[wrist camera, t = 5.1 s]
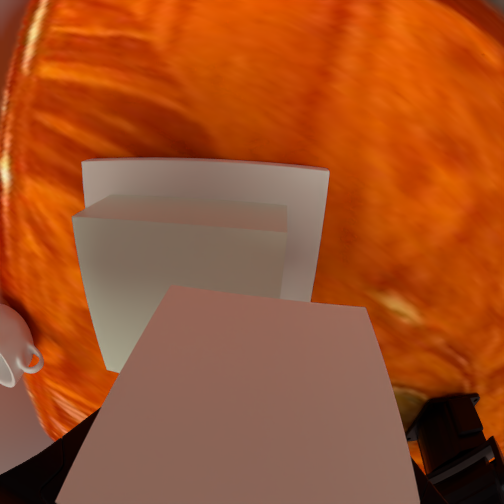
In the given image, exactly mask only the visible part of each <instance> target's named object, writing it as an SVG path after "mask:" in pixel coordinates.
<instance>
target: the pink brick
mask: <svg viewBox="0 0 504 504" xmlns="http://www.w3.org/2000/svg"><path fill="white" fill-rule="evenodd" d="M55 502H56V503H57V504H420V500H419V494H418V489H417V484H416V480H415V475H414V470H413V466H412V461H411V457H410V453H409V449H408V444H407V440H406V436H405V432H404V429H403V425H402V421H401V417H400V414H399V410H398V406H397V403H396V399H395V396H394V392H393V389H392V386H391V382H390V379H389V376H388V373H387V369H386V366H385V363H384V360H383V357H382V354H381V351H380V348H379V345H378V342H377V339H376V336H375V333H374V330H373V327H372V324H371V321H370V318H369V316H368V313H367V310H366V307H356V306H344V305H334V304H323V303H313V302H304V301H294V300H285V299H276V298H268V297H259V296H251V295H243V294H235V293H227V292H220V291H212V290H205V289H198V288H191V287H184V286H177V285H171V286H170V287H169V289H168V291H167V292H166V294H165V296H164V297H163V299H162V301H161V302H160V304H159V306H158V307H157V309H156V311H155V312H154V314H153V316H152V317H151V319H150V321H149V323H148V324H147V326H146V328H145V329H144V331H143V333H142V335H141V336H140V338H139V340H138V342H137V343H136V345H135V347H134V349H133V350H132V352H131V354H130V356H129V358H128V359H127V361H126V363H125V365H124V366H123V368H122V370H121V372H120V374H119V376H118V377H117V379H116V381H115V383H114V385H113V387H112V388H111V390H110V392H109V394H108V396H107V398H106V400H105V401H104V403H103V405H102V407H101V409H100V411H99V413H98V415H97V417H96V419H95V421H94V422H93V424H92V426H91V428H90V430H89V432H88V434H87V436H86V438H85V440H84V442H83V444H82V446H81V448H80V450H79V452H78V454H77V456H76V458H75V460H74V463H73V465H72V467H71V469H70V471H69V473H68V475H67V477H66V479H65V481H64V484H63V486H62V488H61V490H60V492H59V495H58V497H57V499H56V501H55Z"/></svg>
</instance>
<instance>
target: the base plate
mask: <svg viewBox="0 0 504 504" xmlns="http://www.w3.org/2000/svg"><path fill="white" fill-rule="evenodd" d="M329 174H330V171H329V170H328V169H327V168H321V167H312V166H303V165H293V164H282V163H271V162H258V161H243V160H226V159H203V158H100V159H89V160H85V161H82V175H83V188H84V199H85V209H86V208H87V207H89V206H91V205H93V204H94V203H96V202H98V201H100V200H102V199H103V198H105V197H107V196H109V195H141V196H164V197H183V198H200V199H216V200H230V201H243V202H256V203H268V204H279V205H287V242H286V251H285V260H284V269H283V277H282V286H281V294H280V299H285V300H294V301H304V302H310V301H311V296H312V290H313V284H314V278H315V272H316V266H317V260H318V254H319V248H320V241H321V234H322V227H323V220H324V213H325V206H326V198H327V190H328V182H329Z"/></svg>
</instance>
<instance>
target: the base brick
mask: <svg viewBox="0 0 504 504" xmlns="http://www.w3.org/2000/svg"><path fill="white" fill-rule="evenodd" d="M72 222H73V229H74V236H75V242H76V248H77V254H78V260H79V265H80V270H81V275H82V280H83V284H84V289H85V293H86V298H87V302H88V306H89V310H90V314H91V318H92V322H93V325H94V329H95V333H96V336H97V340H98V343H99V346H100V350H101V353H102V356H103V359H104V362H105V365H106V368H107V370H110V371H114V372H118V373H120V372H121V370H122V368H123V366H124V365H125V363H126V361H127V359H128V358H129V356H130V354H131V352H132V350H133V349H134V347H135V345H136V343H137V342H138V340H139V338H140V336H141V335H142V333H143V331H144V329H145V328H146V326H147V324H148V323H149V321H150V319H151V317H152V316H153V314H154V312H155V311H156V309H157V307H158V306H159V304H160V302H161V301H162V299H163V297H164V296H165V294H166V292H167V291H168V289H169V287H170V286H171V285H177V286H184V287H191V288H198V289H205V290H212V291H220V292H227V293H235V294H243V295H251V296H259V297H268V298H276V299H280V294H281V286H282V277H283V269H284V260H285V251H286V242H287V205H279V204H268V203H256V202H243V201H230V200H216V199H200V198H183V197H164V196H141V195H109V196H107V197H105V198H103V199H102V200H100V201H98V202H96V203H94V204H93V205H91V206H89V207H87V208H86V209H84V210H82V211H80V212H79V213H77V214H75V215H74V216H72Z"/></svg>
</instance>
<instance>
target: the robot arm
mask: <svg viewBox="0 0 504 504" xmlns="http://www.w3.org/2000/svg"><path fill="white" fill-rule="evenodd" d="M479 399H480V397H479V395H478V394H473V395H466V396H459V397H451V398H443V399H433V400H430V401H428V402H427V403H426V405H425V406H424V408H423V409H422V411H421V412H420V414H419V415H418V417H417V418H416V420H415V421H414V423H413V424H412V426H411V427H410V428H409V430H408V431H407V433H406V434H405V436H406V440H407V441H415V440H417V441H418V445H419V449H420V453H421V457H422V461H423V465H424V469H425V473H426V475H425V474H424V473H423V472H422V470H421V469H420V468H419V466H418V465H417V464H416V463H415V461H414V460H413V459H412V457H411V456H410V457H411V461H412V466H413V470H414V475H415V480H416V484H417V489H418V494H419V500H420V504H504V457H503V454H502V452H501V449H500V447H499V445H498V443H497V441H496V440H495V438H494V436H492V437H490V438H489V439H488V440H487V441H486V439H485V437H484V434H483V432H482V430H483V426H482V423H481V421H480V419H479V416H478V414H477V412H476V410H475V407H474V406H475V405H476V403H477V402H478V401H479ZM100 409H101V407H100V408H99V409H98V410H97V411H95V412H94V413H93V414H91V415H90V416H89V417H87V418H86V419H85V420H83V421H82V422H81V423H80V424H78V425H77V426H76V427H74V428H73V429H72V430H70V431H69V432H68V433H66V434H65V435H64V436H63V437H62V438H60V439H58V440H57V441H56V442H54V443H53V444H52V445H51V446H49V447H47V448H46V449H44V450H43V451H42V452H40V453H39V454H37V455H35V456H34V457H32V458H30V459H29V460H27V461H25V462H23V463H22V464H20V465H18V466H16V467H14V468H12V469H10V470H8V471H7V472H5V473H3V474H1V475H0V504H57V503H56V502H55V501H56V499H57V497H58V495H59V492H60V490H61V488H62V486H63V484H64V481H65V479H66V477H67V475H68V473H69V471H70V469H71V467H72V465H73V463H74V460H75V458H76V456H77V454H78V452H79V450H80V448H81V446H82V444H83V442H84V440H85V438H86V436H87V434H88V432H89V430H90V428H91V426H92V424H93V422H94V421H95V419H96V417H97V415H98V413H99V411H100ZM493 457H495V459H494V460H493V461H491V462H490V463H489V460H490V459H492V458H493Z"/></svg>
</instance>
